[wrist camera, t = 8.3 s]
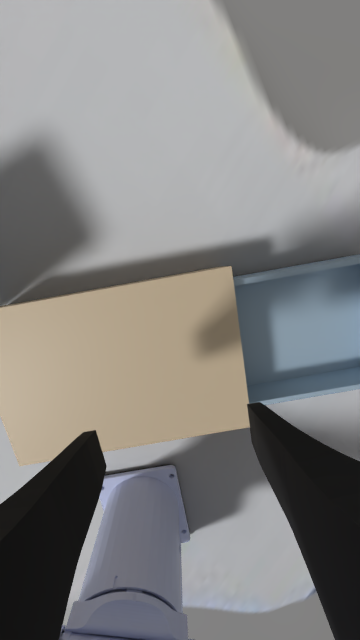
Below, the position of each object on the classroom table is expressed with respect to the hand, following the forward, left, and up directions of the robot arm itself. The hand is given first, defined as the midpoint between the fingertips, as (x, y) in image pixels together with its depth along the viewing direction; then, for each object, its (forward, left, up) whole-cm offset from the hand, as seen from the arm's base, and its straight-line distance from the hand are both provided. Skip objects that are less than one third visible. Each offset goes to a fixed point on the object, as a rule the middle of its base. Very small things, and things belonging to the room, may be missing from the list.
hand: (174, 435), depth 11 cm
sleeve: (+1, +4, -10) cm, 11 cm away
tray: (+1, -8, -10) cm, 13 cm away
